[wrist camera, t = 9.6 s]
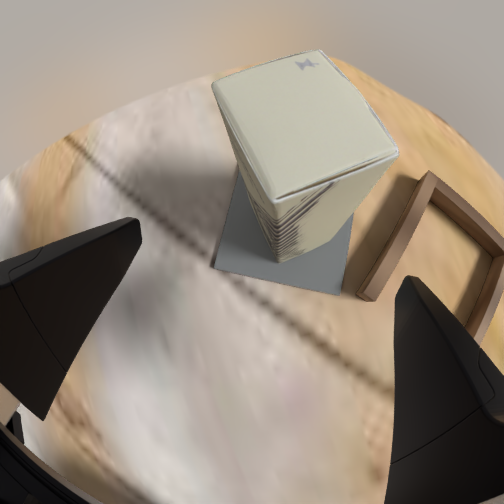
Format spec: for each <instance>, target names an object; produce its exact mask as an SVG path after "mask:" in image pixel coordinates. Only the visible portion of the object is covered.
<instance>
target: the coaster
mask: <svg viewBox="0 0 504 504" xmlns="http://www.w3.org/2000/svg"><path fill="white" fill-rule="evenodd" d="M353 214H354V212H353V213H352V215H351V216H350V217H349V218H348V219H347V221H346V222H345V223H344V224H343V226H342V227H341V228H340V229H339V231H338V232H337V233H336V234H335V236H334V237H333V238H332V239H331V240H330V241H329V242H327V243H325V244H323V245H321V246H319V247H317V248H315V249H313V250H311V251H309V252H306V253H304V254H302V255H299V256H297V257H295V258H292V259H290V260H287V261H285V262H283V263H280V264H279V263H277V261H276V259H275V257H274V255H273V253H272V251H271V249H270V247H269V245H268V242H267V240H266V238H265V236H264V234H263V231H262V229H261V227H260V224H259V222H258V220H257V218H256V215H255V213H254V210H253V208H252V206H251V203H250V200H249V197H248V194H247V190H246V187H245V184H244V181H243V178H242V175H241V172H240V170H239V174H238V177H237V181H236V185H235V188H234V192H233V196H232V199H231V203H230V207H229V210H228V214H227V218H226V222H225V226H224V230H223V233H222V237H221V241H220V245H219V249H218V253H217V257H216V261H215V265H214V269H218V270H222V271H227V272H231V273H235V274H240V275H244V276H249V277H253V278H257V279H262V280H266V281H271V282H276V283H280V284H285V285H289V286H294V287H299V288H304V289H308V290H313V291H318V292H323V293H327V294H332V295H337V296H340V292H341V287H342V282H343V276H344V271H345V265H346V260H347V254H348V248H349V242H350V235H351V228H352V221H353Z"/></svg>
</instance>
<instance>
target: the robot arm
mask: <svg viewBox="0 0 504 504" xmlns="http://www.w3.org/2000/svg"><path fill="white" fill-rule="evenodd" d="M141 244H142V235H141V228H140V222H139V220H138V219H137V218H132V217H126V218H123V219H120V220H117V221H114V222H110V223H107V224H104V225H101V226H98V227H95V228H92V229H89V230H86V231H83V232H81V233H78V234H75V235H72V236H69V237H66V238H64V239H61V240H58V241H55V242H53V243H50V244H47V245H45V246H44V247H43V246H42V247H40V248H37V249H34V250H32V251H29V252H26V253H24V254H21V255H18V256H16V257H13V258H10V259H7V260H4V261H2V262H0V504H104V503H102V502H100V501H98V500H97V499H95V498H93V497H92V496H90V495H89V494H87V493H85V492H84V491H82V490H81V489H79V488H78V487H76V486H75V485H73V484H72V483H71V482H69V481H68V480H66V479H65V478H64V477H62V476H61V475H59V474H58V473H57V472H56V471H54V470H53V469H52V468H50V467H49V466H48V465H47V464H45V463H44V462H43V461H42V460H40V459H39V458H38V457H37V456H36V455H35V454H33V453H32V452H31V451H30V450H29V449H28V448H27V447H26V446H25V445H24V437H23V431H22V424H21V416H20V414H19V413H18V412H17V411H16V409H17V408H18V406H19V405H20V403H22V404H23V405H24V406H25V407H26V408H27V409H29V410H30V411H31V412H32V413H33V414H34V415H36V416H37V417H38V418H39V419H41V420H42V421H44V419H45V418H46V416H47V413H48V411H49V409H50V407H51V405H52V403H53V400H54V398H55V396H56V394H57V392H58V390H59V388H60V386H61V384H62V382H63V380H64V378H65V376H66V374H67V373H66V372H68V370H69V368H70V366H71V364H72V363H73V361H74V359H75V357H76V355H77V353H78V352H79V350H80V348H81V346H82V344H83V343H84V341H85V339H86V337H87V336H88V334H89V332H90V330H91V329H92V327H93V325H94V324H95V322H96V320H97V319H98V317H99V315H100V314H101V312H102V311H103V309H104V307H105V306H106V304H107V303H108V301H109V299H110V298H111V296H112V295H113V293H114V292H115V290H116V288H117V287H118V285H119V284H120V282H121V281H122V279H123V277H124V276H125V274H126V272H127V270H128V268H129V266H130V264H131V263H132V261H133V259H134V257H135V255H136V253H137V252H138V250H139V248H140V246H141ZM394 368H395V402H394V427H393V441H392V452H391V462H390V464H391V465H390V469H389V476H388V483H387V490H386V496H385V501H384V504H504V375H503V374H502V373H501V372H500V371H499V369H498V368H497V367H496V366H495V365H494V363H493V362H492V361H491V360H490V358H489V357H488V356H487V355H486V353H485V352H484V351H483V349H482V348H480V346H479V345H478V343H477V342H476V341H475V340H474V338H473V337H472V336H471V335H470V334H469V332H468V331H467V330H466V329H465V328H464V327H463V325H462V324H461V323H460V322H459V321H458V320H457V318H456V317H455V316H454V315H453V314H452V313H451V312H450V311H449V310H448V308H447V307H446V306H445V305H444V304H443V303H442V302H441V301H440V300H439V299H438V298H437V296H436V295H435V294H434V293H433V292H432V291H431V290H430V289H429V288H428V287H427V286H426V285H425V284H424V283H423V282H422V281H421V280H420V279H419V278H418V277H414V276H410V275H408V276H406V277H405V278H404V280H403V282H402V284H401V286H400V288H399V290H398V292H397V294H396V297H395V317H394Z"/></svg>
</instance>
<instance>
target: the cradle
mask: <svg viewBox="0 0 504 504" xmlns="http://www.w3.org/2000/svg"><path fill="white" fill-rule="evenodd" d="M429 200H430V201H431V202H433V203H434V204H435V205H436V206H437V207H439V208H440V209H441V210H442V211H444V212H445V213H446V214H447V215H448V216H449V217H451V218H452V219H453V220H454V221H455V222H456V223H457V224H459V225H460V226H461V227H462V228H463V229H464V230H465V231H466V232H467V233H468V234H470V235H471V236H472V237H473V238H474V239H475V240H476V241H477V242H478V243H479V244H480V245H481V246H482V247H483V248H484V249H485V250H486V251H487V252H488V253H489V254H490V255H491V256H492V257H493V261H492V264H491V267H490V270H489V272H488V275H487V278H486V281H485V283H484V286H483V288H482V291H481V293H480V296H479V298H478V300H477V303H476V305H475V307H474V309H473V312H472V314H471V316H470V318H469V320H468V322H467V324H466V326H465V329H466V330H467V331H468V332H469V334H470V335H471V336H472V337H473V338H474V340H475V341H476V342H477V343H478V345H479V346H480V344H481V342H482V340H483V338H484V336H485V334H486V331H487V329H488V327H489V325H490V323H491V320H492V318H493V316H494V313H495V311H496V308H497V306H498V303H499V301H500V298H501V295H502V293H503V290H504V238H503V237H502V236H501V235H500V234H499V233H498V232H497V230H496V229H495V228H494V227H493V226H492V225H491V224H490V223H489V222H488V221H487V220H486V219H485V218H484V217H483V216H482V215H481V214H480V213H478V212H477V211H476V210H475V209H474V208H473V207H472V206H471V205H470V204H469V203H468V202H467V201H466V200H464V199H463V198H462V197H461V196H460V195H459V194H458V193H456V192H455V191H454V190H453V189H452V188H451V187H449V186H448V185H447V184H446V183H445V182H443V181H442V180H441V179H440V178H438V177H437V176H436V175H435V174H433V173H432V172H431V171H430V170H428V172H427V173H426V174H425V175H424V176H423V177H422V178H421V179H420V180H419V182H418V184H417V186H416V188H415V190H414V192H413V194H412V196H411V198H410V200H409V202H408V204H407V206H406V208H405V210H404V212H403V214H402V216H401V218H400V220H399V222H398V223H397V225H396V227H395V229H394V231H393V233H392V235H391V236H390V238H389V240H388V242H387V243H386V245H385V247H384V249H383V250H382V252H381V254H380V256H379V257H378V259H377V261H376V262H375V264H374V266H373V267H372V269H371V271H370V272H369V274H368V276H367V277H366V279H365V280H364V282H363V284H362V285H361V287H360V288H359V290H358V292H357V293H356V294H357V295H358V296H360V297H361V298H362V299H364V300H365V301H366V302H373V301H376V299H377V298H378V296H379V294H380V293H381V291H382V290H383V288H384V286H385V285H386V283H387V281H388V279H389V278H390V276H391V274H392V272H393V271H394V269H395V267H396V265H397V264H398V262H399V260H400V258H401V256H402V254H403V253H404V251H405V249H406V247H407V245H408V243H409V241H410V239H411V237H412V235H413V233H414V231H415V229H416V227H417V225H418V223H419V221H420V219H421V217H422V215H423V213H424V210H425V208H426V206H427V204H428V202H429Z"/></svg>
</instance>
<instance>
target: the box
mask: <svg viewBox="0 0 504 504" xmlns="http://www.w3.org/2000/svg"><path fill="white" fill-rule="evenodd" d="M212 90H213V93H214V95H215V98H216V101H217V104H218V107H219V109H220V112H221V115H222V118H223V121H224V124H225V127H226V130H227V133H228V136H229V139H230V142H231V145H232V148H233V151H234V154H235V157H236V160H237V163H238V166H239V169H240V172H241V175H242V178H243V181H244V184H245V187H246V190H247V194H248V197H249V200H250V203H251V206H252V208H253V210H254V213H255V215H256V218H257V220H258V222H259V224H260V227H261V229H262V231H263V234H264V236H265V238H266V240H267V242H268V245H269V247H270V249H271V251H272V253H273V255H274V257H275V259H276V261H277V263H279V264H280V263H283V262H285V261H287V260H290V259H292V258H295V257H297V256H299V255H302V254H304V253H306V252H309V251H311V250H313V249H315V248H317V247H319V246H321V245H323V244H325V243H327V242H329V241H330V240H331V239H332V238H333V237H334V236H335V234H336V233H337V232H338V231H339V229H340V228H341V227H342V226H343V224H344V223H345V222H346V221H347V219H348V218H349V217H350V216H351V215H352V213H353V212H354V211H355V210H356V208H357V207H358V206H359V205H360V204H361V202H362V201H363V200H364V198H365V197H366V196H367V195H368V193H369V192H370V191H371V190H372V188H373V187H374V186H375V185H376V183H377V182H378V181H379V179H380V178H381V177H382V175H383V174H384V173H385V172H386V171H387V170H388V168H389V167H390V166H391V165H392V164H393V163H394V161H395V160H396V159H397V158H398V157H399V149H398V146H397V145H396V143H395V141H394V140H393V138H392V137H391V135H390V133H389V132H388V130H387V129H386V127H385V126H384V125H383V123H382V122H381V120H380V119H379V117H378V116H377V114H376V113H375V112H374V110H373V109H372V108H371V106H370V105H369V104H368V102H367V101H366V100H365V98H364V97H363V96H362V94H361V93H360V92H359V90H358V89H357V88H356V87H355V86H354V85H353V84H352V83H351V82H350V80H349V79H348V78H347V77H346V76H345V75H344V74H343V73H342V72H341V70H340V69H339V68H338V67H337V66H336V65H335V64H334V63H333V62H332V61H331V60H330V59H329V58H328V57H327V56H326V55H325V54H324V53H323V52H322V51H321V50H319V49H317V50H309V51H305V52H301V53H298V54H294V55H290V56H286V57H282V58H278V59H275V60H272V61H268V62H265V63H262V64H259V65H256V66H253V67H251V68H248V69H245V70H242V71H240V72H237V73H234V74H231V75H229V76H226V77H224V78H221V79H219V80H217V81H215V82H213V83H212Z"/></svg>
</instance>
